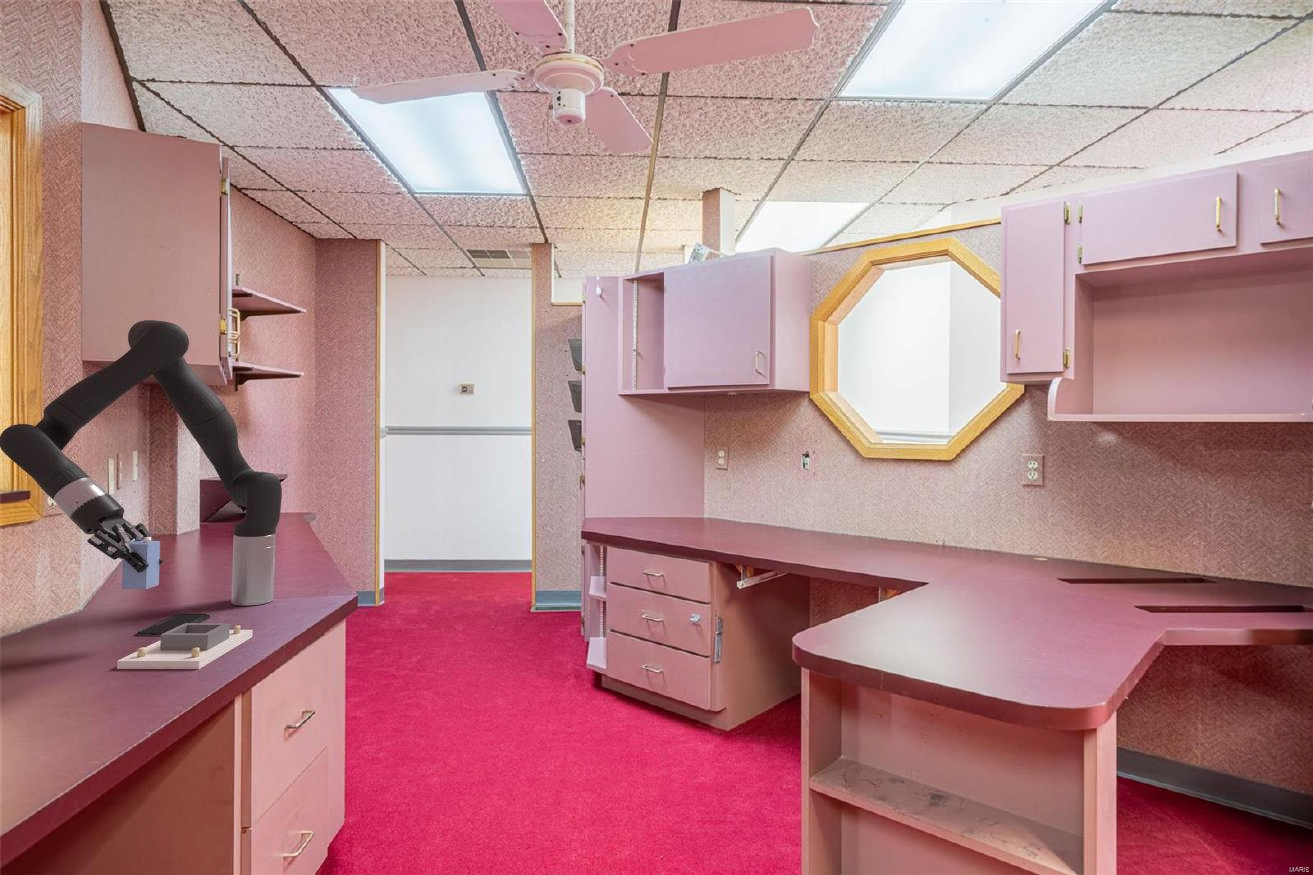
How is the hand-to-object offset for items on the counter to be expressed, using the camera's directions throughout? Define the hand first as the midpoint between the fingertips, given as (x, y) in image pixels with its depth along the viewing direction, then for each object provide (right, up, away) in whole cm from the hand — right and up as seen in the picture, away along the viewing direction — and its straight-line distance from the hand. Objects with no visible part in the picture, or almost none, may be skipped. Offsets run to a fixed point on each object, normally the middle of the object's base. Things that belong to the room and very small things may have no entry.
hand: (151, 566), depth 137 cm
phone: (-5, -16, +14) cm, 22 cm away
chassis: (+10, -16, -3) cm, 19 cm away
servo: (-2, -4, 0) cm, 5 cm away
